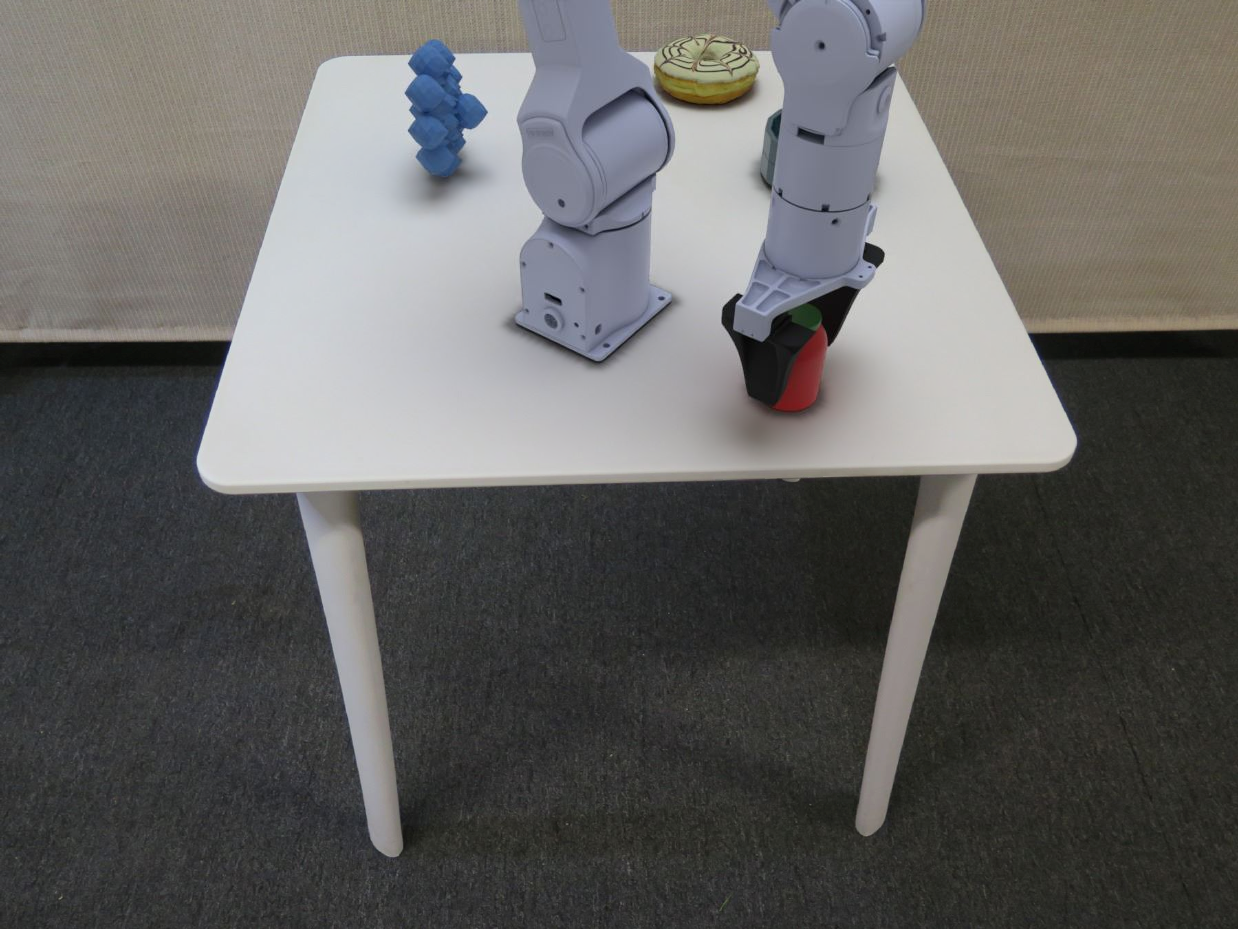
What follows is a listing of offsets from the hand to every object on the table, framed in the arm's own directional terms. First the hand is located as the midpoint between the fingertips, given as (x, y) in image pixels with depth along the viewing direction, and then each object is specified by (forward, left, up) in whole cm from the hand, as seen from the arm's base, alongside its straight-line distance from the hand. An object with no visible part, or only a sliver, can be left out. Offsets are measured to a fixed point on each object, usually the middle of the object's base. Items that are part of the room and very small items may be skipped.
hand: (791, 367), depth 67 cm
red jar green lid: (0, 0, -2) cm, 2 cm away
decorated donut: (+36, +30, -2) cm, 47 cm away
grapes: (+8, +38, -2) cm, 39 cm away
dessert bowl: (+27, +12, -2) cm, 30 cm away
